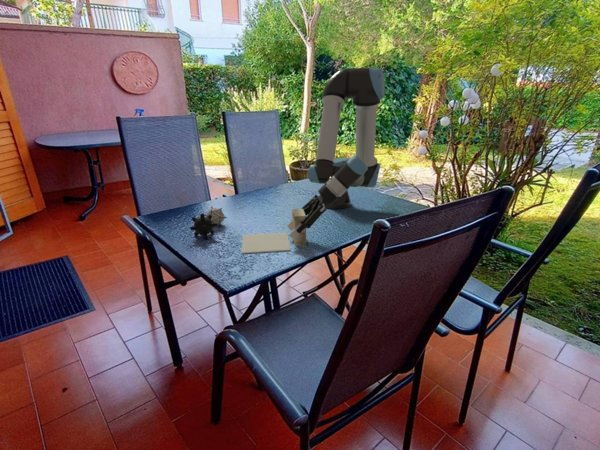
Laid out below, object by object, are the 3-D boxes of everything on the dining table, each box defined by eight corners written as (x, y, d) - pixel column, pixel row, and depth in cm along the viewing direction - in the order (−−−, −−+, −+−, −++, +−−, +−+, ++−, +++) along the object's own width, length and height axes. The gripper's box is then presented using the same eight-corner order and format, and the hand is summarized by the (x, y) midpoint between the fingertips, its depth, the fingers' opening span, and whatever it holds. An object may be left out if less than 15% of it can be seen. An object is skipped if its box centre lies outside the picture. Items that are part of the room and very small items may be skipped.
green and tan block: (303, 236, 137) (303, 208, 133) (306, 245, 130) (306, 215, 125) (292, 237, 137) (292, 209, 132) (294, 245, 129) (294, 216, 125)
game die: (221, 231, 152) (233, 214, 150) (211, 232, 144) (223, 213, 142) (208, 219, 154) (219, 201, 153) (196, 219, 146) (209, 200, 144)
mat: (286, 233, 140) (286, 232, 140) (290, 250, 126) (290, 249, 125) (243, 236, 138) (242, 234, 138) (241, 253, 124) (241, 252, 123)
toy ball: (220, 222, 145) (224, 224, 134) (204, 241, 144) (207, 246, 132) (199, 206, 142) (201, 208, 130) (183, 227, 140) (184, 230, 129)
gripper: (320, 177, 136) (281, 217, 140) (330, 192, 116) (285, 237, 121) (332, 189, 138) (294, 228, 142) (345, 206, 119) (300, 250, 123)
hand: (290, 232), depth 132 cm, fingers closed on green and tan block, 8 cm apart
